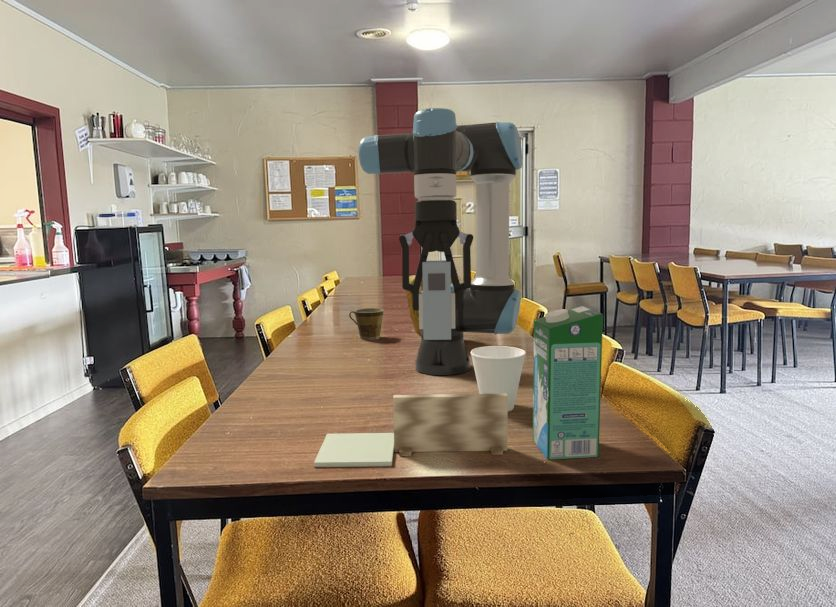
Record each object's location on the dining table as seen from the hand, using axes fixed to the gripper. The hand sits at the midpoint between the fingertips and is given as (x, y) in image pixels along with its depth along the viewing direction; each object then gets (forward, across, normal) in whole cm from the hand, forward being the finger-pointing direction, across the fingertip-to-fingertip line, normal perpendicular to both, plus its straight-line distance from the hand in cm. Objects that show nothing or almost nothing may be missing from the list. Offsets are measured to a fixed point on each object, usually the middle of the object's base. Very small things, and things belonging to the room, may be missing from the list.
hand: (437, 327), depth 105 cm
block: (+2, 0, 0) cm, 2 cm away
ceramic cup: (+21, -22, +93) cm, 98 cm away
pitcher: (+21, +3, +82) cm, 85 cm away
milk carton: (+21, +22, -7) cm, 31 cm away
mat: (+21, -15, -6) cm, 26 cm away
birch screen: (+21, +2, -7) cm, 22 cm away
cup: (+21, +14, +16) cm, 30 cm away
